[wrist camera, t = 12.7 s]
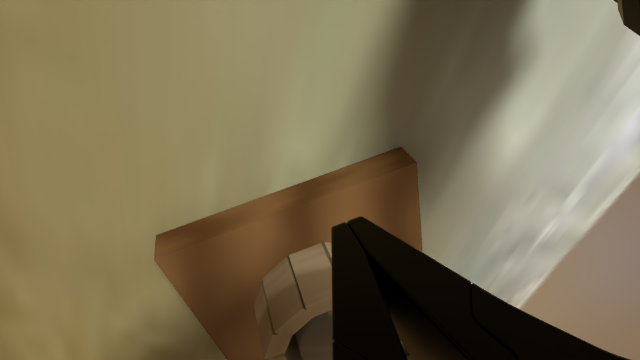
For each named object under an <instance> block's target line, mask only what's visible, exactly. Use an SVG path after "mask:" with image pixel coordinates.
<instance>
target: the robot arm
mask: <svg viewBox="0 0 640 360" xmlns="http://www.w3.org/2000/svg"><path fill="white" fill-rule="evenodd" d="M614 1H615V2H617V3H618V10H619V13H620V16H621V18H622V21H623V24H624V25H625V26H626V27H628V28H629V29H631V30H632V31H634V32H635V33H636V34H638V35H639V36H640V0H614ZM331 251H332V340H333V343H332V360H408V359H407V357H406V354H405V352H404V349H403V346H402V344H401V342H402V343H403V345H404V347H405V348H406V350H407V351H408V353H409V355H410V356H411V358H412V360H630V359H627V358H624V357H621V356H618V355H615V354H613V353H610V352H607V351H605V350H602V349H601V348H598V347H596V346H594V345H592V344H590V343H588V342H586V341H583V340H581V339H579V338H577V337H575V336H573V335H571V334H569V333H567V332H565V331H563V330H561V329H559V328H556V327H554V326H552V325H550V324H548V323H546V322H544V321H542V320H539V319H538V318H536V317H534V316H532V315H530V314H527V313H526V312H524V311H522V310H520V309H518V308H516V307H514V306H512V305H510V304H508V303H506V302H505V301H503V300H501V299H499V298H498V297H496V296H494V295H492V294H491V293H489V292H487V291H485V290H484V289H482V288H480V287H479V286H477V285H476V284H474V283H473V284H471V282H470V281H469V280H467V279H465V278H464V277H462V276H460V275H459V274H457V273H455V272H454V271H452V270H450V269H449V268H447V267H445V266H444V265H442V264H441V263H439V262H437V261H436V260H434V259H432V258H431V257H429V256H427V255H426V254H424V253H422V252H421V251H419V250H417V249H416V248H414V247H412V246H411V245H409V244H407V243H406V242H404V241H402V240H401V239H399V238H397V237H396V236H394V235H392V234H391V233H389V232H387V231H386V230H384V229H383V228H381V227H379V226H378V225H376V224H374V223H373V222H371V221H369V220H368V219H366V218H364V217H362V216H359V217H356V218H353V219H351V220H349V221H348V222H347V223H346V222H343V223H340V224H338V225H335V226H333V227H332V228H331ZM399 338H400V339H399ZM400 340H401V341H400Z"/></svg>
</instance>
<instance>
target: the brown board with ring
mask: <svg viewBox="0 0 640 360" xmlns="http://www.w3.org/2000/svg"><path fill="white" fill-rule="evenodd" d="M359 216H362V217H364V218H366V219H368V220H369V221H371V222H373V223H374V224H376V225H378V226H379V227H381V228H383V229H384V230H386V231H387V232H389V233H391V234H392V235H394V236H396V237H397V238H399V239H401V240H402V241H404V242H406V243H407V244H409V245H411V246H412V247H414V248H416V249H417V250H419V251H421V252H422V238H421V222H420V207H419V191H418V176H417V162H416V161H415V160H414V159H413V158H412V157H411V156H410V155H409V154H408V153H407V152H406V151H405V150H404V149H403V148H402V147H400V148H397V149H394V150H391V151H388V152H386V153H383V154H380V155H377V156H375V157H372V158H369V159H366V160H364V161H361V162H358V163H355V164H353V165H350V166H347V167H344V168H341V169H339V170H336V171H333V172H330V173H328V174H325V175H322V176H319V177H317V178H314V179H311V180H308V181H306V182H303V183H300V184H297V185H294V186H292V187H289V188H286V189H283V190H281V191H278V192H275V193H272V194H270V195H267V196H264V197H261V198H259V199H256V200H253V201H250V202H247V203H245V204H242V205H239V206H236V207H234V208H231V209H228V210H225V211H223V212H220V213H217V214H214V215H212V216H209V217H206V218H203V219H200V220H198V221H195V222H192V223H189V224H187V225H184V226H181V227H178V228H176V229H173V230H170V231H167V232H164V233H162V234H159V235H156V243H155V257H154V260H155V261H156V262H157V264H158V265H159V266H160V268H161V269H162V271H163V272H164V273H165V275H166V276H167V277H168V279H169V280H170V282H171V283H172V284H173V286H174V287H175V288H176V290H177V291H178V292H179V294H180V295H181V297H182V298H183V299H184V301H185V302H186V303H187V305H188V306H189V308H190V309H191V310H192V312H193V313H194V314H195V316H196V317H197V318H198V320H199V321H200V323H201V324H202V325H203V327H204V328H205V329H206V331H207V332H208V334H209V335H210V336H211V338H212V339H213V340H214V342H215V343H216V345H217V346H218V347H219V349H220V350H221V351H222V353H223V354H224V355H225V357H226V358H227V360H303V358H302V357H301V354H300V351H299V347H298V343H297V340H296V336H295V333H296V332H297V331H298V330H299V329H300V328H302V327H303V326H304V325H305V324H306V323H307V322H309V321H310V320H311V319H312V318H313V317H315V316H318V315H320V314H323V313H325V312H328V311H330V310H332V251H331V228H332V227H333V226H335V225H338V224H340V223H343V222H346V223H347V222H348V221H349V220H351V219H353V218H356V217H359Z"/></svg>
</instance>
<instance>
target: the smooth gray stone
mask: <svg viewBox="0 0 640 360" xmlns="http://www.w3.org/2000/svg"><path fill="white" fill-rule="evenodd" d="M295 336H296V340H297V343H298V347H299V351H300V354H301V357H302V358H303V360H332V343H333V340H332V310H330V311H328V312H325V313H323V314H320V315H318V316H315V317H313V318H312V319H311V320H310V321H309V322H307V323H306V324H305V325H304V326H303V327H302V328H300V329H299V330H298V331H297V332H296V333H295Z"/></svg>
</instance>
